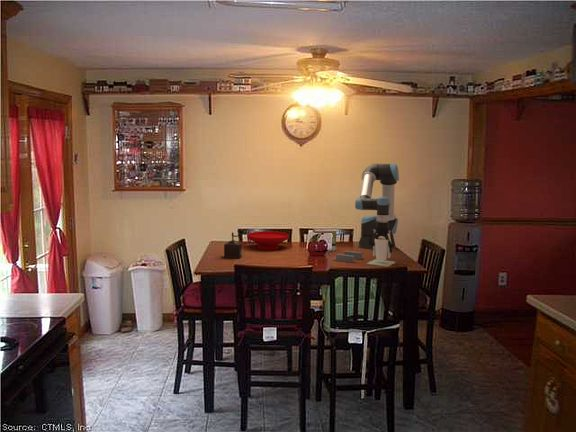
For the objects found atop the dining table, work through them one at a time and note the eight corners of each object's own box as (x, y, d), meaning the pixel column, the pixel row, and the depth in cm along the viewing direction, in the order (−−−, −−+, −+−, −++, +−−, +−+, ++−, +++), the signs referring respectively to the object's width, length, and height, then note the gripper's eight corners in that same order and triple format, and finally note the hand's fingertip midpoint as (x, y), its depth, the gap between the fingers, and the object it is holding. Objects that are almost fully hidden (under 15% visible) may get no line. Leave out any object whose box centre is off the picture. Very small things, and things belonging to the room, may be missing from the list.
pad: (375, 260, 340) (375, 259, 340) (395, 262, 333) (395, 261, 333) (366, 264, 328) (366, 263, 328) (388, 266, 321) (388, 265, 321)
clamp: (343, 256, 353) (343, 250, 352) (362, 258, 346) (362, 252, 345) (333, 260, 339) (333, 254, 339) (352, 262, 332) (353, 256, 332)
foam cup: (387, 258, 335) (387, 238, 334) (390, 260, 326) (391, 240, 325) (372, 257, 335) (373, 237, 333) (375, 260, 325) (376, 239, 324)
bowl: (249, 244, 398) (249, 231, 397) (289, 244, 397) (289, 231, 396) (244, 251, 368) (244, 237, 367) (288, 252, 367) (288, 238, 366)
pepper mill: (240, 259, 341) (240, 231, 339) (223, 258, 342) (223, 231, 340) (244, 254, 356) (244, 228, 354) (227, 254, 357) (227, 228, 355)
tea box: (316, 251, 369) (316, 231, 367) (311, 249, 379) (312, 229, 377) (336, 250, 373) (336, 230, 371) (331, 248, 383) (331, 228, 381)
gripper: (363, 220, 330) (363, 255, 333) (397, 223, 319) (396, 259, 321) (368, 219, 336) (367, 254, 339) (401, 222, 325) (400, 257, 328)
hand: (381, 256), depth 330 cm, fingers closed on foam cup, 9 cm apart
